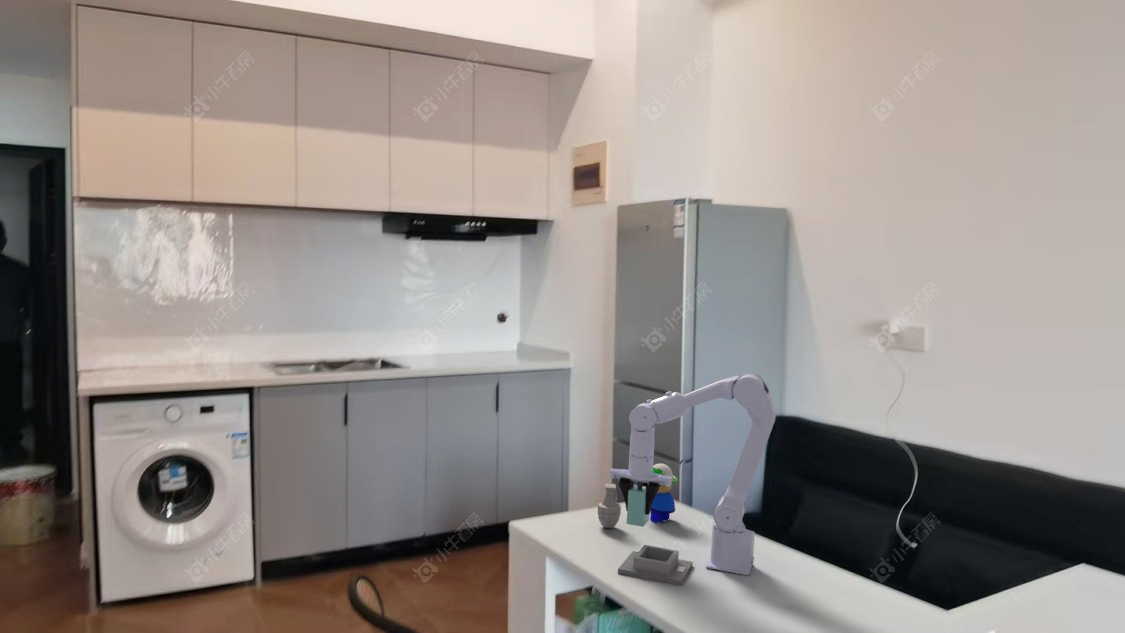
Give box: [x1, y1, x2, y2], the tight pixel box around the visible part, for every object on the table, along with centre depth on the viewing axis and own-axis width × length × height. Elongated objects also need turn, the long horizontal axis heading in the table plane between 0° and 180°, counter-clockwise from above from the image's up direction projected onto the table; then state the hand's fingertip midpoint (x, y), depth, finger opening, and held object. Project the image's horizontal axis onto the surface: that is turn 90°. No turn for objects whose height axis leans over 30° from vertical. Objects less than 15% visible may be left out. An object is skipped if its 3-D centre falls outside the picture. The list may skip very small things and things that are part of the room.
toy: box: [642, 463, 678, 523], centre depth 207 cm, size 9×9×15 cm
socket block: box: [617, 544, 694, 586], centre depth 172 cm, size 14×12×4 cm
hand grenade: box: [597, 483, 622, 529], centre depth 198 cm, size 6×6×11 cm
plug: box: [626, 481, 650, 528], centre depth 182 cm, size 4×5×10 cm
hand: (638, 512), depth 182 cm, fingers closed on plug, 4 cm apart
